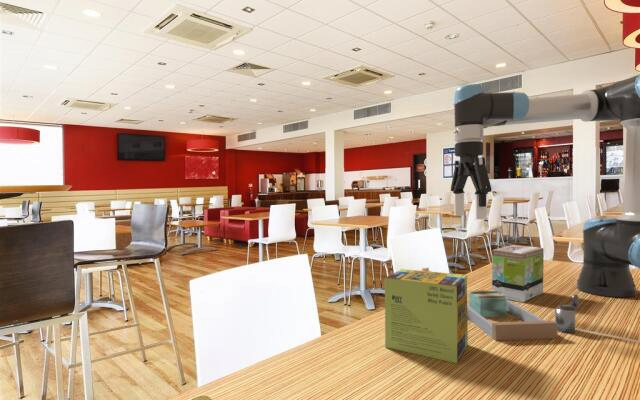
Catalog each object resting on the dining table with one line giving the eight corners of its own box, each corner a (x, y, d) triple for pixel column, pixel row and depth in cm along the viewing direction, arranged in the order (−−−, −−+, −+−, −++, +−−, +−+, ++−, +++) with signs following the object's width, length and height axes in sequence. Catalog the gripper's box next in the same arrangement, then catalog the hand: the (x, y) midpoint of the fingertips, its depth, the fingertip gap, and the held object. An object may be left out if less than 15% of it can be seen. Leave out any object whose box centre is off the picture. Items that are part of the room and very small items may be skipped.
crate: (493, 308, 108) (493, 289, 107) (507, 316, 101) (506, 296, 100) (468, 309, 107) (468, 289, 107) (480, 317, 100) (479, 297, 100)
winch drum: (571, 326, 92) (571, 292, 92) (583, 332, 88) (583, 297, 88) (551, 327, 92) (551, 293, 92) (562, 333, 88) (562, 298, 88)
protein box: (458, 364, 75) (457, 285, 74) (384, 348, 83) (383, 277, 82) (469, 344, 83) (468, 274, 83) (401, 331, 92) (400, 267, 91)
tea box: (525, 303, 111) (525, 253, 110) (491, 296, 118) (490, 249, 118) (544, 293, 121) (544, 246, 120) (511, 287, 128) (511, 243, 128)
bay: (506, 307, 107) (506, 295, 107) (556, 338, 86) (556, 322, 86) (457, 309, 107) (457, 297, 107) (495, 340, 85) (495, 325, 85)
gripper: (439, 146, 120) (440, 214, 120) (476, 136, 95) (477, 221, 95) (462, 146, 120) (463, 213, 121) (505, 135, 95) (506, 220, 96)
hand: (469, 217), depth 108 cm, fingers open, 13 cm apart
